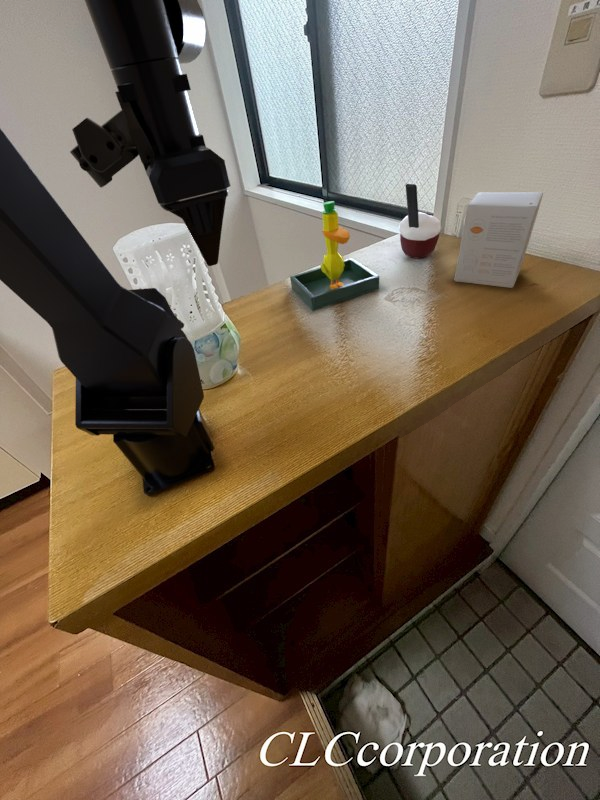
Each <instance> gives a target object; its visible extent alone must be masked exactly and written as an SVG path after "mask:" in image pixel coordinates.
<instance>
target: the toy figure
mask: <svg viewBox="0 0 600 800" xmlns="http://www.w3.org/2000/svg"><path fill="white" fill-rule="evenodd" d="M322 205H323V209H324V210H323V211H321V216H322V226H323V227H322V228H323V229H322V231H321V233H322V234H323V237H324V242H325V246H326V254H324V255H323V259H322V263H320V267H321V270H322V271H323V273H325V274H326V275H327V276H328V278H329V279H331V285H330V286H329V287H330V289H331V290H332V289H335V288H338V287H341V286H344V284H343V283H342V282H339V277H340V275H341V274H342V272H343V270H344V267H343V266H345V265H344V261H343V260H344V258H343V257H342V256H341V254H340V253H339V252H338V249H339V244H341V245H345V244H347V243H348V242H349V240H350V238H351V234H350V232H349V231H348V230H347V229H345V228H344V227H342V226H339V213H338V212H337V211H338V208H335V201H334V200H329V201H325V202H324V203H322ZM334 279H336V283H335V284H334V283H333V280H334Z"/></svg>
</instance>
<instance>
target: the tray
mask: <svg viewBox="0 0 600 800" xmlns="http://www.w3.org/2000/svg"><path fill="white" fill-rule="evenodd" d="M343 261H344V265H345V266H343V267H344V270H343V272H342V274H341V275H340V277H339V282H342V283H343V284H344V286H341V287H338V288H335V289H332V290H331V289H330V287H329V286H330V285H331V279H329V278H328V276H327V275H326V274H325V273H323V271H322V270H321V266H320V267H317V268H314V269H310V270H307V271H303V272H301V273H298V274H294V275H290V276H289V280H290V286H291V290H292V291H293V292H294V293H295V294H296V295H297V296H298V297H299V298H300V299H301V300H302V301H303V303H305V305H307V307H308V308H309V309H310V310H311V312H314V311H317V310H319V309H323V308H326V307H329V306H333V305H336V304H339V303H341V302H344V301H347V300H350V299H353V298H357V297H360V296H362V295H366V294H368V293H372V292H375V291H378V290H380V275H378V274H377V273H375V272H374V271H373V270H371V269H369V267H366V266H365V265H363V264H362V263H361V262H359V261H357V260H356V259H354V258H353V257H350V258H347V259H343ZM333 283H334V284H335V283H336V279H334V280H333Z"/></svg>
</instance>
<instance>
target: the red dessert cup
mask: <svg viewBox="0 0 600 800" xmlns="http://www.w3.org/2000/svg"><path fill="white" fill-rule="evenodd" d="M404 187H405V197H406V207H407V208H406V209H407V210H406V211H407V215H406V216H405V217H403V219H402V220H401V221H400V222H399V226H398V232H399V233H400V234H399V241H400V246H401V250H402V251H403V254H404V255H406V256H407V257H409V258H410V259H412V258H413V259H423V258H426V257H427V256H430V254H432V253H433V252H434V251H435V248H436V246H437V244H438V241H439V239H440V233H441V230H442V224H441V222H440V221H439V219H438V218H437V217H436V216H434V215H431V214H428V213H426V212H421V211H419V204H418V201H419V200H418V186H417V185H416V184H415V183H406V184H405V186H404Z"/></svg>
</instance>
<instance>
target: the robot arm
mask: <svg viewBox="0 0 600 800" xmlns="http://www.w3.org/2000/svg"><path fill="white" fill-rule="evenodd" d="M84 2H85V5H86V7H87V10H88V13H89V16H90V19H91V21H92V23H93V26H94V29H95V32H96V34H97V37H98V40H99V43H100V46H101V48H102V50H103V53H104V56H105V58H106V61H107V64H108V66H109V69H110V72H111V75H112V77H113V80H114V83H115V85H116V89H117V91H114V92H115V93H114V94H115V95H116V98H117V101H118V104H119V106H120V109H121V110H119V111H118V112H117V113H115V114H114V115H113V116H112V117H111V118H109V119H108V120H107V121H105V123H103V124H102V125H100V124H98V123H97V122H95V121H94V120H92V119H91V118H90V117H86V118H84V119H83V120H82V121H80V122H79V123H78V124H77V125H75V126H74V127H73V128H72V129H71V130H72V134H73V136H74V138H75V141H76V144H77V145H75V146H74V147H73V148H72V149H71V150H70V151H69V153H70V154H71V156H72V157H73V158H74V159H75V160H76V162H77V163H78V164H79V167H80V168H81V170H82V171H84V172H86V173H87V174H88V175H89V176H90V178H92V179H93V181H94V182H95V184H96V185H97V186H98V187H99V188H101V189H102V188H104V187H105V186H107V185H108V184H109V183H111V182H112V181H113V177H114V176H115V175H116V174H117V173H118V172H120V171H121V170H122V169H124V168H125V167H127V166H128V165H129V164H130V163H131V162H132V161H134V160H135V159H136V158H137V157H138V156H139V159H140V162H141V164H142V166H143V168H144V171H145V173H146V176H147V178H148V180H149V183H150V185H151V188H152V191H153V193H154V196H155V199H156V201H157V203H158V204H159V206H160V207H161V208H162V209H163V210H164V211H166V212H169V213H171V214H173V215H175V216H177V217H178V218H180V219H181V220H182V221H183V223H184V225H185V227H186V226H187V227H186V229H187V228H188V229H187V231H188V232H189V234H190V233H191V234H190V236H191V235H192V236H191V238H192V237H193V238H192V240H193V239H194V240H193V241H194V243H195V245H196V246H197V249H198V250H199V253H200V254H201V256H202V258H203V259H204V261H205V264H206V265H207V266H208V267H212V266H217V265H218V263H219V256H220V248H221V240H222V239H221V238H222V231H223V223H224V216H225V215H224V214H225V209H226V203H227V197H229V189H228V188H230V187H231V182H230V177H229V173H228V169H227V165H226V161H225V159H223V158H222V157H221V156H220V155H218V153H216V152H215V151H213V150H212V149H211V148H209V147H207V145H206V142H205V138H204V135H203V134H201V133H199V129H198V125H197V121H196V118H195V114H194V111H193V107H192V103H191V99H190V95H189V92H188V91H191V90H192V88H191V85H190V81H189V77H188V73H183V70H182V66H181V64H189V63H191V62H194V61H195V60H196V59H197V58H198V57H199V56H200V55H201V53H202V50H203V49H204V45H205V42H206V41H205V40H206V22H205V17H204V12H203V9H202V8H201V5H200V3H199V1H198V0H84ZM0 281H1V282H2V284H4V285H5V286H6V287H7V288H8V289H10V290H11V291H12V292H13V293H14V294H15V295H16V296H17V297H18V298H20V300H22V301H23V302H24V303H25V304H26V305H27V306H28V307H29V308H31V310H33V311H34V312H35V313H36V314H37V315H38V316H40V317H41V318H42V320H43V321H45V322H46V323H47V324H48V325H49V326H50V328H51V330H52V335H53V339H54V343H55V347H56V351H57V356H58V359H59V361H61V363H62V364H63V366H64V367H66V368H67V370H68V371H69V372H70V373H71V374H72V375H73V376H74V377H75V405H74V406H75V408H74V409H75V412H74V413H75V415H74V416H75V417H74V419H75V420H74V422H75V423H74V424H75V427H76V429H78V430H80V431H82V432H84V433H87V434H89V435H91V436H101V435H104V436H105V435H109V436H110V435H111V436H112V441H113V443H114V444H115V446H116V447H117V448H118V449H119V450H120V452H121V453H122V454H123V456H124V457H125V458H126V459H127V460H128V462H129V463H130V464H131V465H132V466H133V468H134V469H135V470H136V471H137V473H138V474H139V475H140V476H141V478H142V487H143V494H144V495H145V496H146V497H152V496H155V495H158V494H161V493H163V492H165V491H167V490H170V489H173V488H175V487H178V486H180V485H182V484H183V485H184V484H185V483H188V482H190V481H193V480H195V479H198V478H200V477H202V476H205V475H208V474H210V473H212V472H213V471H215V469H216V464H215V460H214V456H213V453H212V452H214V450H215V445H214V441H213V437H212V434H211V430H210V428H209V426H208V424H207V423H206V420H205V418H204V416H203V413H202V411H201V410H200V407H201V405H202V403H203V400H204V398H205V395H204V390H203V389H204V388H203V385H202V380H201V376H200V375H201V374H200V371H199V366H198V361H197V357H196V353H195V349H194V347H193V344H192V342H191V341H190V340H189V338H188V336H187V334H186V333H185V332H184V330H182V329H183V328H185V323H184V322H183V321H181V320H180V319H178V317H177V316H176V315H175V313H174V311H173V309H172V308H171V306H170V304H169V301H168V300H167V298H166V296H165V295H164V294H163V293H161V292H160V291H159V290H158V289H157V288H156V287H148V288H147V287H146V288H135V289H127V288H126V287H123V286H122V285H121V284H120V283H119V282H118V281H117V280H116V279H115V277H114V276H113V275H112V273H111V272H110V271H109V269H108V268H107V267H106V266H105V264H104V263H103V261H102V260H101V259H100V257H99V256H98V255H97V254H96V252H95V251H94V250H93V248H92V246H90V244H89V243H88V242H87V241H86V239H85V238H84V236H83V235H82V233H81V232H80V231H79V230H78V228H77V227H76V226H75V225H74V223H73V222H72V221H71V219H70V218H69V216H67V214H66V212H64V210H63V209H62V208H61V206H60V205H59V204H58V201H56V200H55V198H54V197H53V196H52V194H51V192H50V191H49V190H48V189H47V188H46V186H45V185H44V184H43V182H42V181H41V179H40V178H39V177H38V176H37V174H36V173H35V172H34V170H33V169H32V168H31V166H30V165H29V164H28V162H27V161H26V160H25V159H24V158H23V156H22V155H21V153H20V152H19V151H18V149H17V148H16V147H15V145H13V142H12V141H10V139H9V137H8V136H7V135H6V133H5V132H4V131H3V130H2V129H1V127H0Z"/></svg>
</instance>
